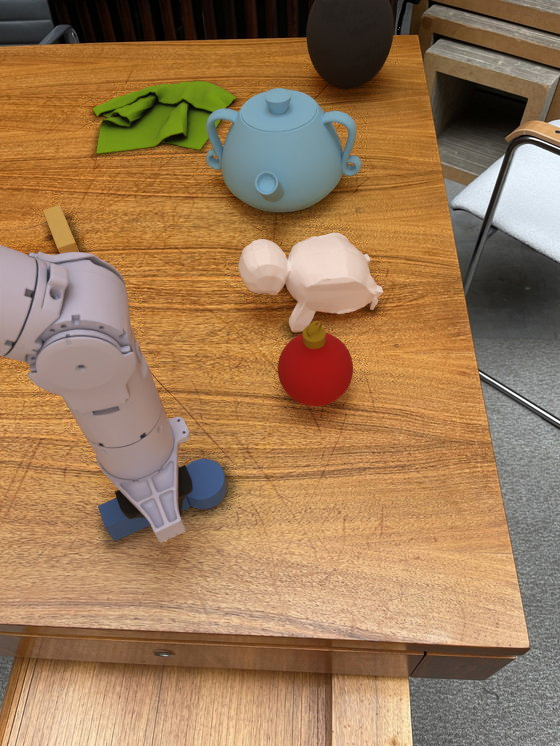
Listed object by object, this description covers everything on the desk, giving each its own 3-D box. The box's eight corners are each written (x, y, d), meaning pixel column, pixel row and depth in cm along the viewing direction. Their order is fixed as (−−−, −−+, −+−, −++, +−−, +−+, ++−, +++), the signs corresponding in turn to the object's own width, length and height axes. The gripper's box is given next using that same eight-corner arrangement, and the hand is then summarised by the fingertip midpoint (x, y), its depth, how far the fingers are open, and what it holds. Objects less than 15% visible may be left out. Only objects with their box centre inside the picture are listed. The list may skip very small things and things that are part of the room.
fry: (81, 255, 77) (75, 242, 75) (63, 262, 76) (57, 248, 75) (65, 218, 81) (59, 204, 80) (48, 224, 81) (42, 210, 79)
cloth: (253, 94, 97) (251, 79, 95) (175, 175, 85) (172, 160, 83) (142, 70, 103) (139, 55, 101) (57, 143, 92) (51, 128, 90)
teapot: (364, 153, 86) (369, 60, 76) (352, 255, 74) (356, 160, 64) (222, 149, 89) (208, 58, 78) (188, 246, 77) (167, 154, 67)
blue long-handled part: (117, 551, 54) (107, 536, 51) (104, 511, 56) (94, 496, 54) (234, 498, 56) (230, 482, 54) (217, 462, 58) (212, 445, 56)
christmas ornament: (323, 351, 66) (322, 281, 58) (366, 396, 62) (372, 328, 54) (266, 385, 63) (257, 317, 55) (308, 433, 60) (304, 368, 52)
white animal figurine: (345, 285, 75) (223, 271, 70) (375, 228, 69) (243, 209, 64) (364, 339, 70) (234, 329, 65) (398, 282, 64) (257, 266, 59)
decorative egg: (307, 65, 101) (305, -41, 89) (386, 61, 100) (394, -46, 88) (307, 108, 93) (304, -2, 82) (392, 104, 93) (401, -7, 81)
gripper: (212, 471, 41) (236, 552, 52) (143, 323, 49) (177, 419, 60) (107, 518, 39) (155, 590, 50) (54, 356, 48) (105, 449, 58)
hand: (161, 499), depth 55 cm, fingers open, 3 cm apart
